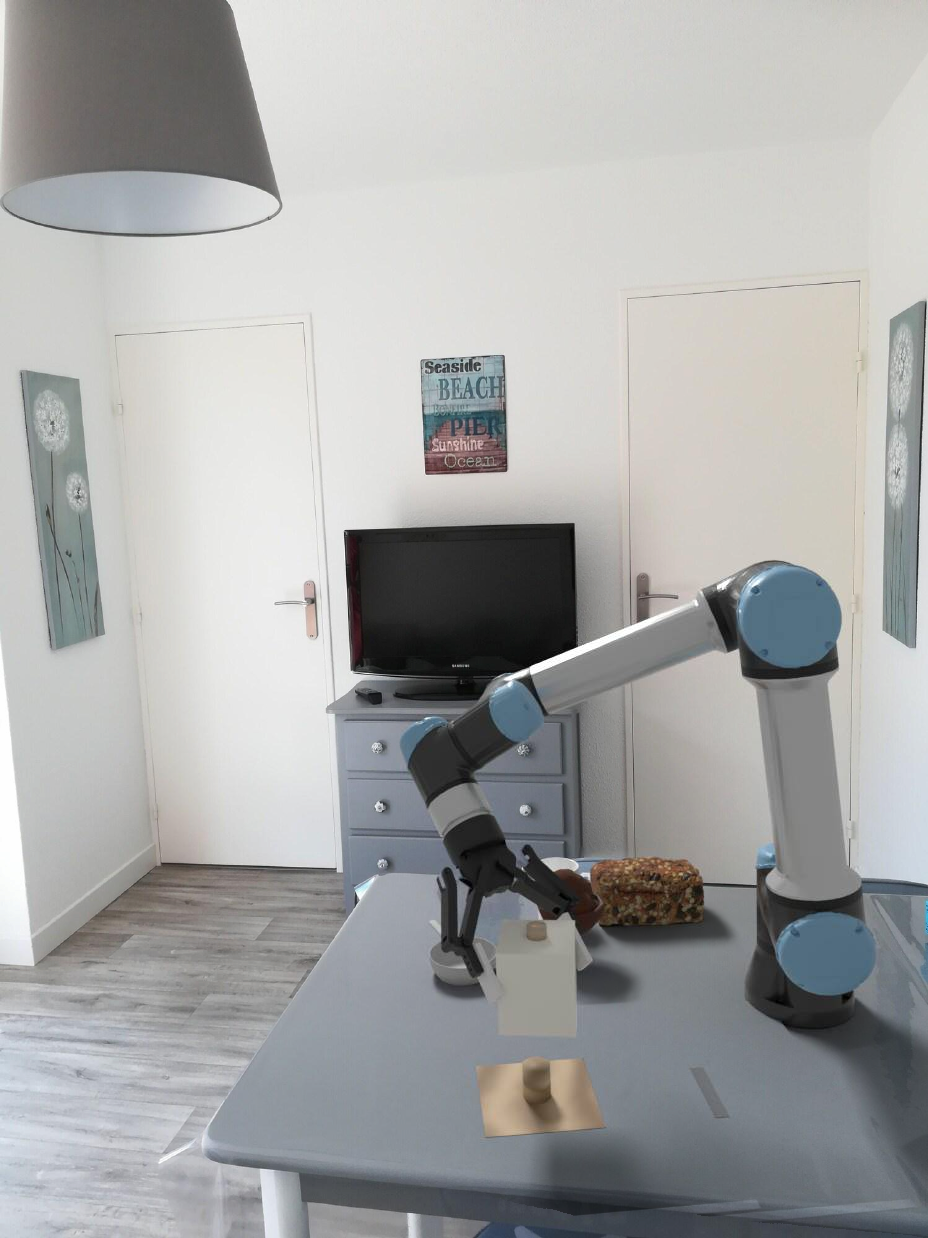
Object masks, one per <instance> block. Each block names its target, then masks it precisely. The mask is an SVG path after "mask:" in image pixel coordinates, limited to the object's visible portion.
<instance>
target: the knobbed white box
mask: <svg viewBox="0 0 928 1238" xmlns="http://www.w3.org/2000/svg"><path fill="white" fill-rule="evenodd" d="M496 948H497V950H496V965H495V970H496V973H495V975H496V978H497V980H498V982H499V984H500V986H501V988H502V991H503V993H504V996H503V997H502V998H501V999H500V1000H499V1001H498V1002H497V1028H498V1036H506V1037H507V1036H510V1037H512V1036H513V1037H517V1036H518V1037H540V1038H541V1037H545V1038H571V1039H572V1038H574V1039H575V1038H577V1037H578V1036H577V1035H578V1033H577V1032H578V1025H577V1024H578V1023H577V1022H578V1019H577V1018H578V991H577V990H578V988H577V980H578V979H577V967H576V941H575V920H538V919H509V918H508V919H503V918H502V919H501V923H500V929H499V935H498V940H497V945H496Z"/></svg>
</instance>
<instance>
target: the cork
mask: <svg viewBox="0 0 928 1238" xmlns="http://www.w3.org/2000/svg"><path fill="white" fill-rule="evenodd" d="M549 1061H550V1060H548V1059H546V1058H544V1057H541V1056H530V1057H528V1058H526V1059H523V1061H522V1062H521V1063H522V1074H523V1097H524V1099H525V1100H526V1101H528V1102H530V1103H533V1104H541V1103H545V1102H547V1101H548V1100H549V1099H550V1098H551V1079H550V1063H549Z"/></svg>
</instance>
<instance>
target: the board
mask: <svg viewBox="0 0 928 1238" xmlns="http://www.w3.org/2000/svg"><path fill="white" fill-rule="evenodd" d="M583 1058H584V1057H583ZM583 1058H582V1057H580V1058H569V1059H568V1058H567V1059H554V1060H548V1061H549V1063H550V1079H551V1098H550V1099H549V1100H548V1101H547V1102H545V1103H541V1104H533V1103H530V1102H528V1101H526V1100H525V1099H524V1097H523V1074H522V1063H523V1062H515V1063H502V1064H501V1063H500V1064H489V1065H488V1064H487V1065H476V1066H475V1071H476V1078H477V1085H478V1093H479V1100H480V1106H481V1107H480V1108H481V1116H482V1122H483V1129H484V1138H486V1139H487V1138H497V1137H498V1138H500V1137H511V1136H512V1137H513V1136H522V1135H535V1134H548V1133H559V1132H560V1133H561V1132H569V1131H570V1132H573V1131H583V1130H596V1129H597V1130H598V1129H607V1128H606V1125H605V1121H604V1117H603V1116H602V1112H601V1110H600V1106H599V1103H598V1100H597V1097H596V1095H595V1090H594V1088H593V1086H592V1081H591V1079H590V1077H589V1073H588V1070H587V1067H586V1063H585V1060H584V1059H583Z"/></svg>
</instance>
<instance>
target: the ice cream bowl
mask: <svg viewBox="0 0 928 1238" xmlns="http://www.w3.org/2000/svg"><path fill="white" fill-rule="evenodd" d="M554 873H555V874H556V875H557V876H558V877H560V878H561V879H562V880H563V881H564V882H565V883H566V884H567V885H568V886H569V887H570V888H571V889H573V890H574V891H575V892H576V893H577V894H578V895H579V896H580V898H581V901H580V902H579V903H578V904H577V905H576V906H575V907H574V908H573V914H574V916H575V918H576V919H577V921H578V924H579V925H580V927H581V929H582V931H583V935H584V934H586V933H588V932H590V930H591V929H592V928H593V927H594V926H595V925H596V924H597V923H598V921H599V920H600V919H601V916H602V914H603V912H604V908H605V902H604V900H603V899H602V897H601V895H600V894H597V893H595V892H593V891H592V887H591V883H590V882H591V881H590V880H588V879H586V878H585V877H584V876H582V875H581V874H576V873H575V872H574V871H572V870H570V869H559V870H557V871H554ZM536 907H537V911H538V910H539V912H540V914H541V916H542V918H543V920H557V919H558V918H557V917H555V916H554V915H552V914H551V913H549V912H547V911H546V910H544V909H543V908H541V907H539V906H538V905H536Z"/></svg>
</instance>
